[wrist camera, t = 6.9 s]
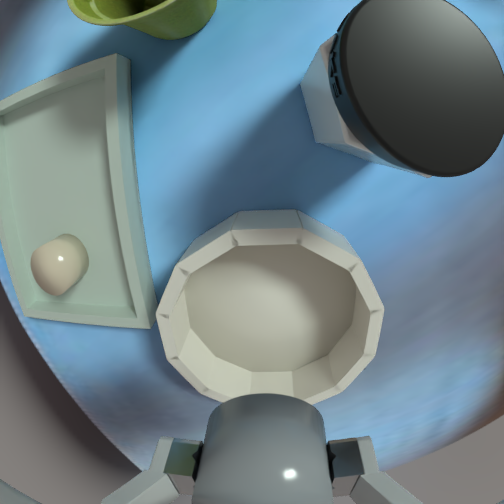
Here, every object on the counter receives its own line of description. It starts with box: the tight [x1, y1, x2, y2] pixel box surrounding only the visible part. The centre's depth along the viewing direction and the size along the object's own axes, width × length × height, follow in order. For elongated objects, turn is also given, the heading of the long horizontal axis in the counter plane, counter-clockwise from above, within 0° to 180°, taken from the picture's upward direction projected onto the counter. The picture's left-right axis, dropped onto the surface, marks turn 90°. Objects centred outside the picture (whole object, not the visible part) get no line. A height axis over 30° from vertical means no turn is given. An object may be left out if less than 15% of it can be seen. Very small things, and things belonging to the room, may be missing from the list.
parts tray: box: [0, 53, 158, 329], centre depth 22 cm, size 22×16×2 cm
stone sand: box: [30, 234, 89, 296], centre depth 23 cm, size 4×4×4 cm
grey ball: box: [192, 393, 334, 504], centre depth 8 cm, size 4×4×4 cm
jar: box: [300, 0, 504, 178], centre depth 14 cm, size 9×8×12 cm
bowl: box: [156, 209, 384, 405], centre depth 23 cm, size 16×16×5 cm
